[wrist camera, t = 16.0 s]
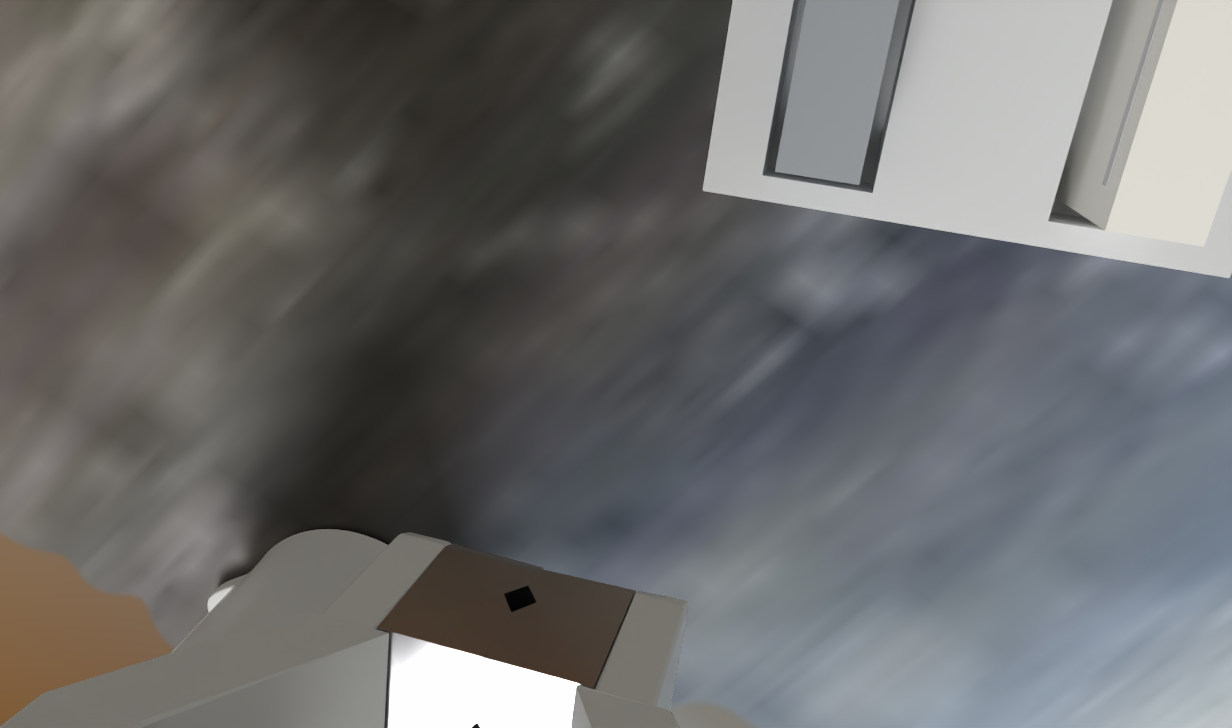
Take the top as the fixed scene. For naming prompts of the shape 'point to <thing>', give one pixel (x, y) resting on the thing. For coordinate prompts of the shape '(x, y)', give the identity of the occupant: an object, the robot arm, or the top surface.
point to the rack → (924, 119)
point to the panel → (1155, 122)
